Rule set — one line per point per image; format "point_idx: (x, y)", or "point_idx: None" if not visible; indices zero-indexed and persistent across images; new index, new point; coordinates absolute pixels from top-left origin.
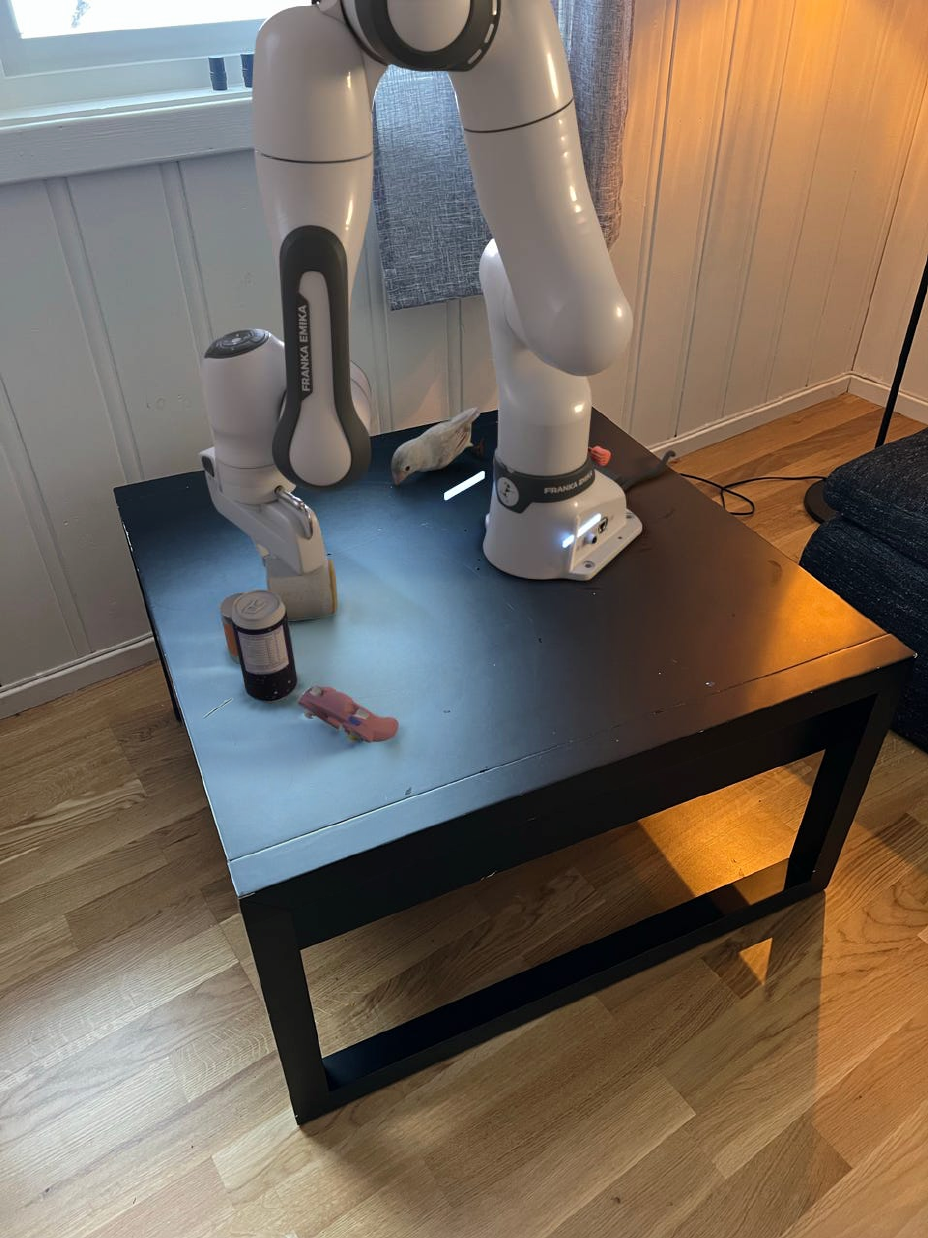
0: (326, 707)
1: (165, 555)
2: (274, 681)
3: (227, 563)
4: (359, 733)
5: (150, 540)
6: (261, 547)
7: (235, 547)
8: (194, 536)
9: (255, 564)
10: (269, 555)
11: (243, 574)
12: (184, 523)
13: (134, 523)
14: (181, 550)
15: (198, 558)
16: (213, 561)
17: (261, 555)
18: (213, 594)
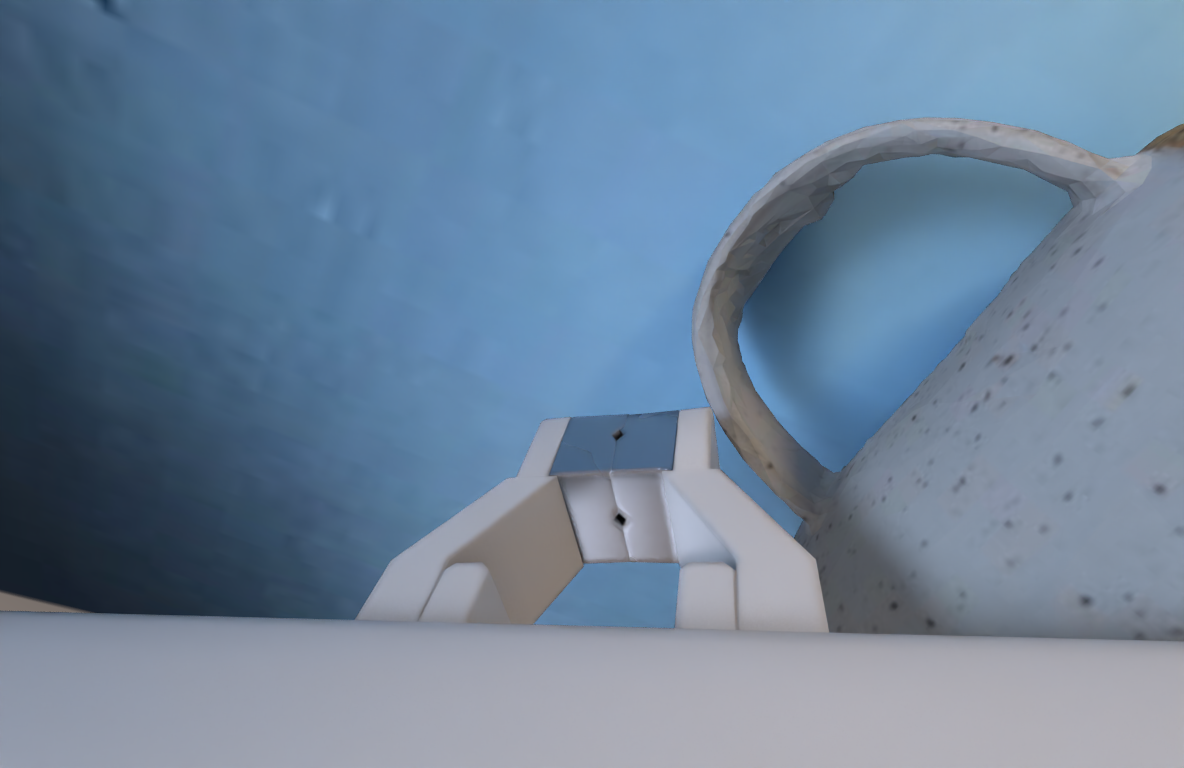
0: None
1: (239, 608)
2: None
3: (359, 480)
4: None
5: (132, 603)
6: (529, 602)
7: (229, 401)
8: (115, 494)
9: (413, 387)
10: (586, 520)
11: (479, 466)
12: (12, 484)
13: (19, 595)
14: (214, 563)
15: (286, 544)
16: (325, 514)
17: (573, 574)
18: (571, 605)
